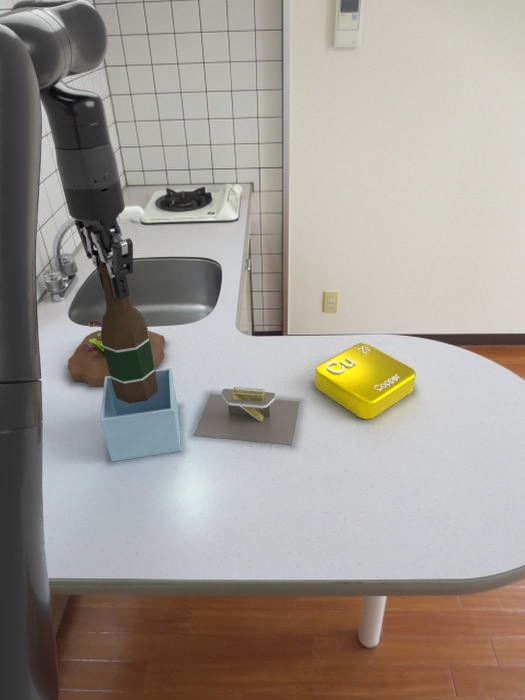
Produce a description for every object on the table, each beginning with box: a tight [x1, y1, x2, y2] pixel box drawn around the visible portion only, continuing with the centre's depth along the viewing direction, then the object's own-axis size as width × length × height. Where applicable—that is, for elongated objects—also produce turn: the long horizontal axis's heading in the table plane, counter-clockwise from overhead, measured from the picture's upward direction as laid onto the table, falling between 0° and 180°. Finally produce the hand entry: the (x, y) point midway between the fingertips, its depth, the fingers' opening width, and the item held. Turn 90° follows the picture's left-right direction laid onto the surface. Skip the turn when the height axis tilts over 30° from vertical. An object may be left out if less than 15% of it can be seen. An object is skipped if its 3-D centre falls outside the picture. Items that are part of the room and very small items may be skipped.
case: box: [99, 367, 182, 462], centre depth 94 cm, size 12×12×10 cm
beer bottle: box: [99, 261, 158, 404], centre depth 84 cm, size 8×8×24 cm
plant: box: [67, 319, 166, 387], centre depth 113 cm, size 20×20×11 cm
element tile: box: [314, 342, 417, 420], centre depth 104 cm, size 15×15×5 cm
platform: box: [193, 386, 300, 446], centre depth 97 cm, size 12×18×7 cm, turn 80°
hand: (115, 291), depth 80 cm, fingers closed on beer bottle, 4 cm apart
